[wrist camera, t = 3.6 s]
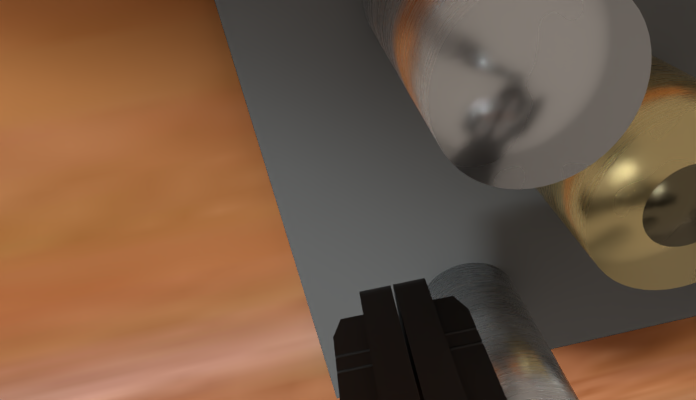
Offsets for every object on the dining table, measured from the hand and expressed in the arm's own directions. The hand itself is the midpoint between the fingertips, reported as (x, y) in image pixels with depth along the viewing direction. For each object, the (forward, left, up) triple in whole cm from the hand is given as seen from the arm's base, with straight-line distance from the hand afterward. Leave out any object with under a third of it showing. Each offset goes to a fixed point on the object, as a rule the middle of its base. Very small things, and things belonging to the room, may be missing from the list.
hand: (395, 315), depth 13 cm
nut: (-1, +7, -5) cm, 8 cm away
